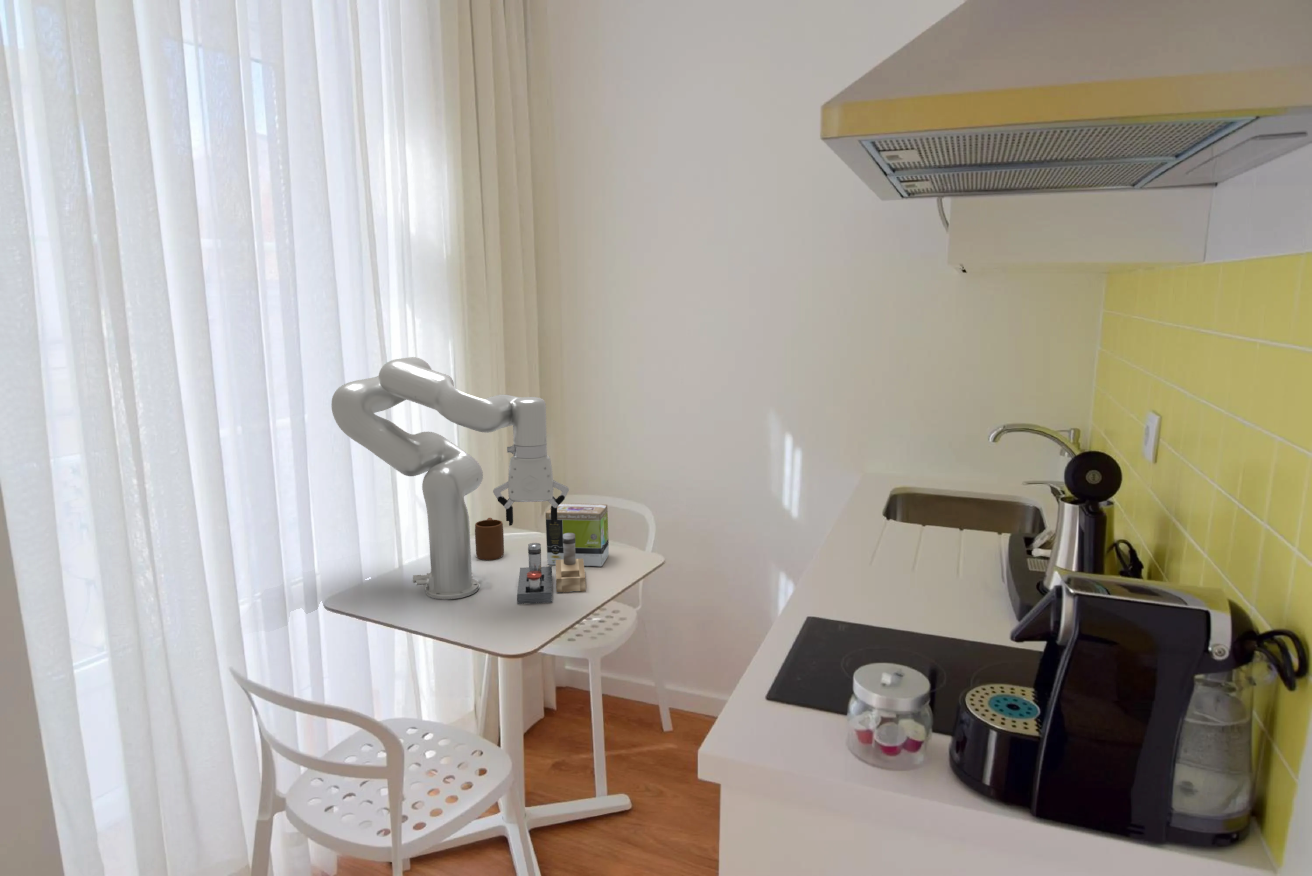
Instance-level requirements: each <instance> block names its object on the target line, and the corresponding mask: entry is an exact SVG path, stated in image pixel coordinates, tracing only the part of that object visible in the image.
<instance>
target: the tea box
mask: <svg viewBox="0 0 1312 876" xmlns="http://www.w3.org/2000/svg"><path fill="white" fill-rule="evenodd" d="M608 512H609V510H608V504H602V503H599V504H598V503H595V504H594V503H593V504H592V503H591V504H589V503H561V504H560V505H559V506H558V507H557V520H554V525H552V524H551V507H550V508H548V510H546V512H545V537H546V559H547V565H550V566H553V565H555V566H556V560H562V559H564V552H563V534H565V533H574V534H575V555H576V559H583V562H584V567H603V565H604V564H605V562H606V560H607V559H608V557H609V547H610V546H609V517H608Z"/></svg>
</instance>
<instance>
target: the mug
mask: <svg viewBox="0 0 1312 876" xmlns="http://www.w3.org/2000/svg"><path fill="white" fill-rule="evenodd" d="M503 525H504V523H503V521H502V520H499V519H493V518H492V517H488V518H487V519H483V520H479V521H476V522H475V524H474V536H475V537H474V539H475V541H474V542H475V543H474V544H475V555H476V558H478V559H480V560H483V561H491V560H492V561H493V560H498V559H500V558H502V557H503V556H504V554H505V545H504V543H505V542H504V541H505V537H504V535H505V534H504V526H503Z"/></svg>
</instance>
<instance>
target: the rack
mask: <svg viewBox="0 0 1312 876" xmlns="http://www.w3.org/2000/svg"><path fill="white" fill-rule="evenodd" d="M563 552H564V559H562V560H556V565H555V584H556V585H555V591H556V592H563V593H571V592H570V591H582V592H586V588H587V587H586V572H585V566H584V562H583V559H576V555H575V534H574V533H565V534H563Z"/></svg>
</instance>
